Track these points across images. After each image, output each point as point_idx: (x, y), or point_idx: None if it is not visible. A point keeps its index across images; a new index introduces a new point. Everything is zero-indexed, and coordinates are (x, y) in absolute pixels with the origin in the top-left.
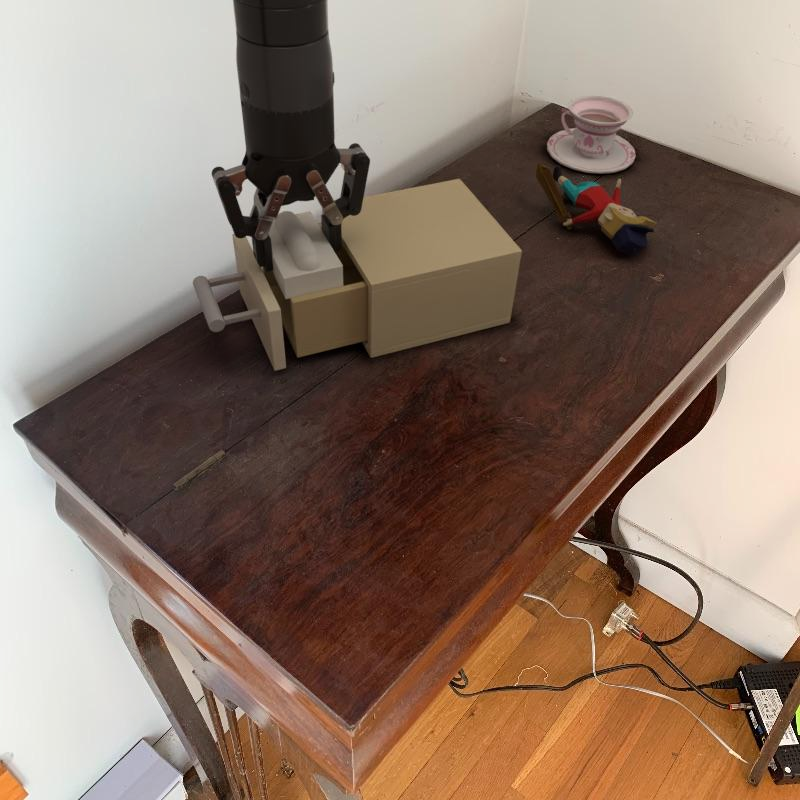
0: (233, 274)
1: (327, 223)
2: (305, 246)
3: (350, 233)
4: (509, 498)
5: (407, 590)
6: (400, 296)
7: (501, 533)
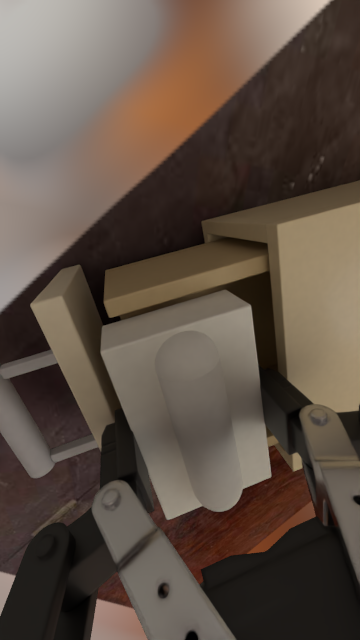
0: (51, 355)
1: (290, 443)
2: (224, 492)
3: (304, 345)
4: (288, 502)
5: (209, 562)
6: None
7: (273, 523)
